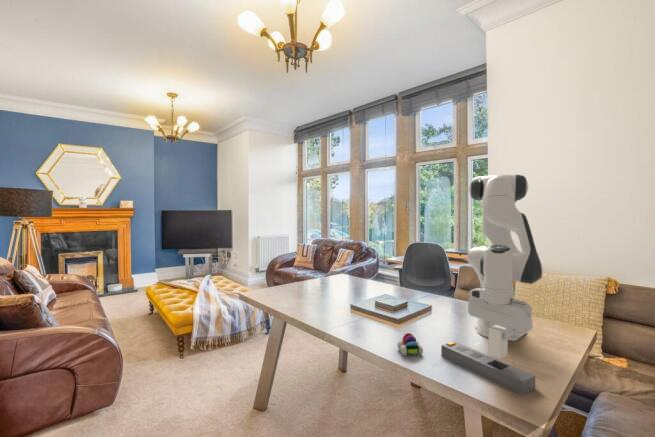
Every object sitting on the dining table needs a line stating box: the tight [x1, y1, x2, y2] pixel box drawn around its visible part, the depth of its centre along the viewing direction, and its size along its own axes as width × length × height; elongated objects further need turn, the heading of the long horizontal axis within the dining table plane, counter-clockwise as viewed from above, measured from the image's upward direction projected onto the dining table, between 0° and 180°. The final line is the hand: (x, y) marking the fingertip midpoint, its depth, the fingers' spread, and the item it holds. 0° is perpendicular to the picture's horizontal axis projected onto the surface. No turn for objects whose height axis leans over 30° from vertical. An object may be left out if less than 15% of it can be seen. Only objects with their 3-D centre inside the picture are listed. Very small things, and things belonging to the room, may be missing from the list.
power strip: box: [440, 340, 536, 396], centre depth 111 cm, size 7×30×6 cm, turn 30°
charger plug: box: [488, 325, 509, 360], centre depth 106 cm, size 4×4×9 cm
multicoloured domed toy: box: [397, 332, 424, 357], centre depth 127 cm, size 8×10×7 cm
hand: (498, 336), depth 106 cm, fingers closed on charger plug, 4 cm apart
